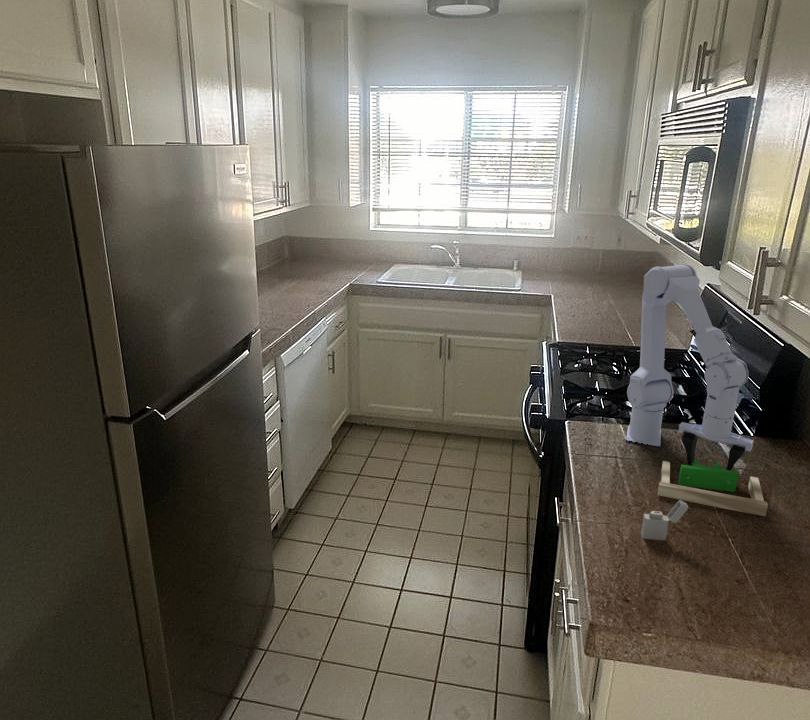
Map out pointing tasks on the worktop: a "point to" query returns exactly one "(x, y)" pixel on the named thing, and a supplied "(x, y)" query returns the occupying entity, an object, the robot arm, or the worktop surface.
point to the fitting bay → (714, 495)
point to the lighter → (661, 521)
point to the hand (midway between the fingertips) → (708, 469)
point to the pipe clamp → (708, 477)
